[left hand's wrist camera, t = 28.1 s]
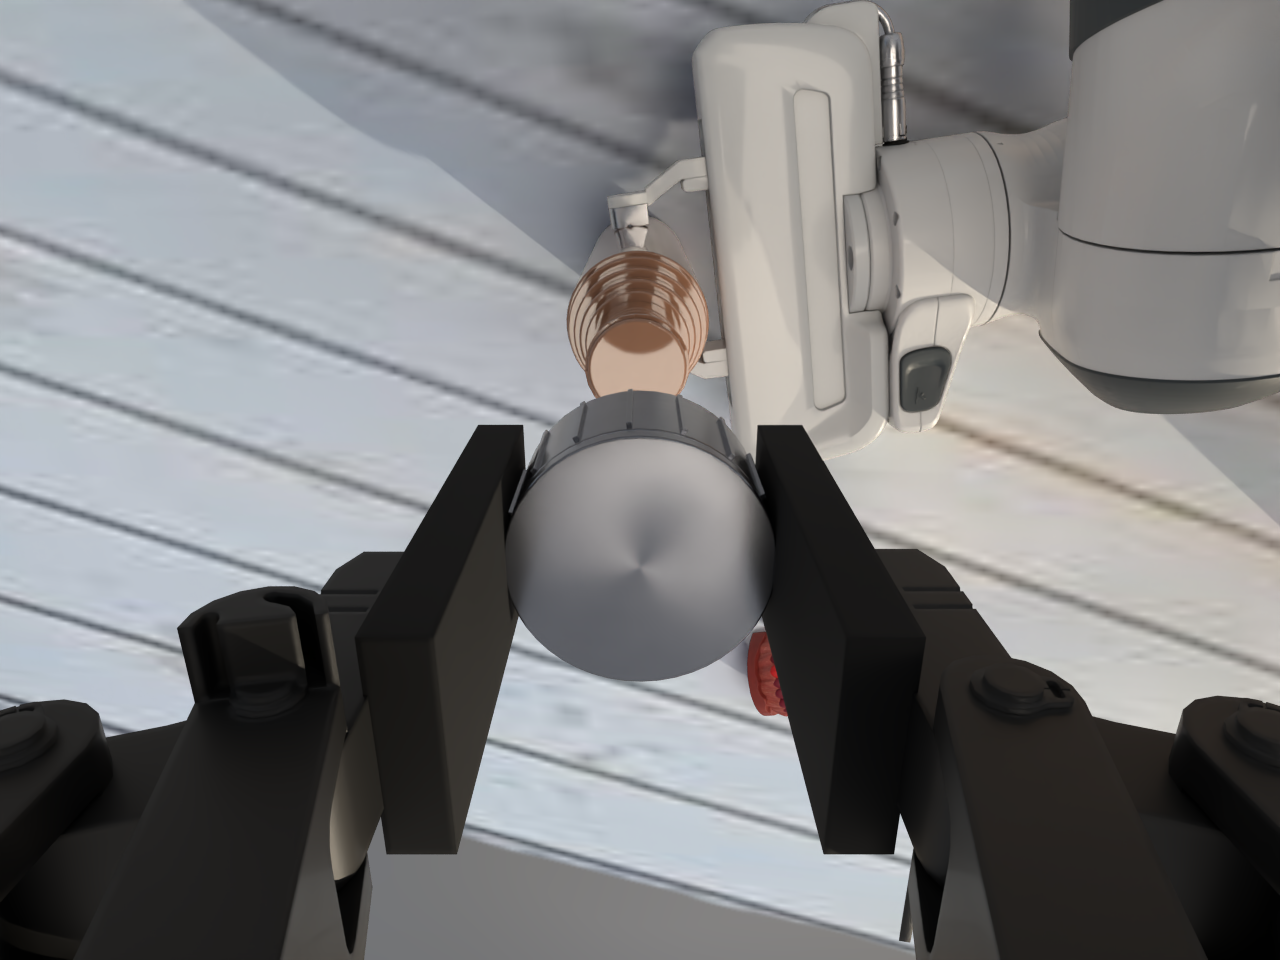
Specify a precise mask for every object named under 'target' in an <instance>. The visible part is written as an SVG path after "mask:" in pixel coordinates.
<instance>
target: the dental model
mask: <svg viewBox="0 0 1280 960" xmlns="http://www.w3.org/2000/svg"><path fill="white" fill-rule="evenodd" d="M747 672H748V682H749V688H750V693H751V697H752V700H753V702H754V705H755V707H756V709H757V710H758V711H759V712H760V714H762V715H764V716H770V715H776V714H780V715H783V716H788V715H787V711H786V707H785V703H784V699H783V695H782V692H781V688H780V684H779V680H778V676H777V672H776V668H775V665H774V661H773V657H772V653H771V649H770V645H769V641H768V638H767V634H766V632H758V633H753V634H752V637H751V640H750V645H749V650H748V660H747Z"/></svg>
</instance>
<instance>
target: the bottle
mask: <svg viewBox="0 0 1280 960" xmlns="http://www.w3.org/2000/svg"><path fill="white" fill-rule="evenodd" d="M648 218H649V225H645V226H633V225H631V224H630V225H629V226H628V227H627V228H623V229H618V230H612V227H611V224H610V225H609V226H608V227H607V228H606V229H605V230H604V231H603V232H602V234H601V235H600V236H599V238H598V240H597V242H596V244H595V246H594V248H593V250H592V253H591V255H590V257H589V259H588V261H587V263H586V265H585V267H584V270H583V272H582V274H581V276H580V278H579V280H578V282H577V285H576V287H575V289H574V291H573V293H572V296H571V299H570V302H569V306H568V310H567V332H568V338H569V341H570V345H571V348H572V351H573V353H574V355H575V358H576V360H577V361H578V363H579V365H580V366H581V367H582V369H583V370H584V371H585V373H586V378H587V382H588V385H589V387H590V389H591V391H592V393H593V395H594V396H595V398H599V397H602V396H605V395H609V394H614V393H619V392H625V391H628V389H633V391H638V390H639V391H656V392H662V393H667V394H672V395H675V396H677V394H680V393H681V391H682V390H683V388H684V386H685V383H686V381H687V378H688V375H689V373H690V372H691V371H692V369H693V368H694V367H695V365H696V364H697V362H698V360H699V359H700V357H701V354H702V352H703V349H704V347H705V343H706V340H707V336H708V330H709V315H708V308H707V304H706V300H705V297H704V295H703V292H702V290H701V288H700V285H699V283H698V281H697V279H696V276H695V274H694V272H693V270H692V267H691V265H690V263H689V261H688V259H687V256H686V254H685V252H684V250H683V247H682V245H681V243H680V241H679V239H678V237H677V236H676V234H675V233H674V231H673V230H672V229H671V228H670V227H669V226H667V225H666V224H665V223H663V222H662V221H660V220H658V219H656V218H654V217H650V216H648Z"/></svg>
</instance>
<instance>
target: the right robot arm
mask: <svg viewBox="0 0 1280 960" xmlns="http://www.w3.org/2000/svg"><path fill="white" fill-rule="evenodd" d="M879 21H880V23H881V24H882V26H883V29H884V32H885V35H881V36H880V37H879ZM1069 57H1070V60H1071V61H1072V73H1071V84H1070V94H1069V105H1068V116H1067V118H1064V119H1061V120H1058V121H1055V122H1053V123H1051V124H1049V125H1047V126H1045V127H1043V128H1040V129H1038V130H1035V131H1031V132H1028V133H1023V134H1000V133H995V132H987V131H976V132H969V133H962V134H956V135H949V136H942V137H936V138H929V139H923V140H916V141H910V142H909V141H907V137H906V134H907V125H906V103H905V97H904V96H905V94H904V91H903V89H904V87H903V84H902V83H903V78H902V76H903V71H902V65H904V59H905V51H904V42H903V37H902V34H901V33H900V32H896V33H895V31H894V27H893V24H892V21H891V19H890V17H889V16H888V14H887V13H886V12H885V11H884V10H883V9H882V8H881V7H880V6H879V5H877V4H876V3H873V2H871V1H867V0H852V1H846V2H840V3H834V4H828V5H825V6H822V7H820V8H818V9H816V10H815V11H813V12H812V13H811V14H809V16H808V17H807V18H806V19H805V20H804V22H803V23H762V24H747V25H737V26H728V27H722V28H717V29H714V30H712V31H710V32H709V33H707V34H706V36H705V37H704V38H703V39H702V40H701V41H700V43H699V44H698V46H697V47H696V49H695V51H694V53H693V56H692V71H693V80H694V89H695V99H696V108H697V117H698V126H699V135H700V145H701V154H702V157H696V158H690V159H684V160H678V161H676V162H675V163H674V164H673V165H671V166H670V167H669V168H668V169H667V170H665V171H664V172H663V173H662V174H660V175H659V176H658V177H657V178H656V179H654V180H653V181H652V182H651V183H650V184H648V185H647V186H646V187H645V190H643V191H637V192H630V193H624V194H617V195H612V196H608V197H607V202H608V208H609V215H610V221H611V227H612V230H618V229H623V228H627V227H628V226H629V225H630V224H631V225H633V226H645V225H649V218H648V210H647V206H649V205H651V204H652V203H653V202H654V201H656V200H657V199H658V198H659V197H661V196H662V195H663V194H664V193H665V192H667V191H668V190H669V189H670V188H672V187H673V186H674V185H675V184H676V183H678V182H679V181H680V180H681V188H682V189H683V190H684V191H685V192H694V191H701V190H705V191H706V200H707V209H708V218H709V227H710V237H711V246H712V255H713V264H714V273H715V283H716V292H717V301H718V310H719V319H720V329H721V338H722V339H720V340H714V341H708V342H706V343H705V347H704V349H703V352H702V354H701V357H700V359H699V360H698V362H697V364H696V365H695V367H694V368H693V369H692V371H691V372H690V373H691V374H694V375H696V376H699V377H701V378H704V379H710V378H717V377H725V376H726V384H727V393H728V402H729V411H730V421H731V430H732V432H733V433H734V434H735V435H736V437H737V438H738V440H739V441H740V443H741V444H742V446H743V447H744V449H745V451H746V453H747V454H748V453H751V455H752V458H753V460H754V463H755V460H756V442H757V425H803V427H804V429H805V431H806V432H807V434H808V436H809V437H810V439H811V441H812V442H813V444H814V446H815V448H816V449H817V451H818V453H819V454H820V456H821V458H822V460H823V461H824V460H828V459H832V458H836V457H839V456H843V455H846V454H850V453H853V452H855V451H858V450H860V449H862V448H864V447H866V446H867V445H869V444H870V443H872V442H873V441H874V440H875V439H876V438H877V437H878V436H879V435H880V434H881V432H882V431H883V429H884V427H885V425H886V422H888V423H889V424H890V425H891V426H893V427H894V428H896V429H897V430H899V431H901V432H904V433H916V432H923V431H927V430H929V429H931V428H932V427H934V426H935V424H936V423H937V421H938V419H939V417H940V415H941V412H942V409H943V406H944V402H945V399H946V396H947V392H948V389H949V386H950V383H951V380H952V377H953V373H954V370H955V367H956V364H957V361H958V359H959V356H960V353H961V350H962V347H963V345H964V342H965V339H966V337H967V334H968V332H969V329H970V327H975V326H981V325H984V324H987V323H990V322H993V321H995V320H998V319H1001V318H1004V317H1007V316H1011V315H1018V314H1023V315H1028V316H1031V317H1033V318H1035V319H1036V321H1037V322H1038V324H1039V326H1040V330H1039V336H1040V338H1041V339H1042V340H1043V342H1044V343H1045V344H1046V345H1047V347H1048V348H1049V349H1050V350H1051V352H1052V353H1053V354H1054V355H1055V356H1056V357H1057V358H1058V359H1059V361H1060V362H1061V363H1062V364H1063V365H1064V366H1065V367H1066V368H1067V369H1068V370H1069V371H1070V372H1071V373H1072V374H1073V375H1074V376H1075V377H1076V378H1077V379H1078V380H1079V381H1080V382H1081V383H1082V384H1083V385H1084V386H1085V387H1086V388H1087V389H1088V390H1089V391H1090V392H1091V393H1093V394H1094V395H1095V396H1096V397H1098V398H1099V399H1101V400H1102V401H1104V402H1106V403H1108V404H1109V405H1111V406H1114V407H1116V408H1119V409H1122V410H1126V411H1131V412H1138V413H1149V414H1186V413H1200V412H1210V411H1217V410H1224V409H1229V408H1234V407H1238V406H1241V405H1244V404H1247V403H1250V402H1253V401H1257V400H1260V399H1262V398H1265V397H1267V396H1270V395H1272V394H1275V393H1278V392H1280V0H1070V35H1069ZM883 142H884V144H883V146H877V147H875V145H876V144H882V143H883Z"/></svg>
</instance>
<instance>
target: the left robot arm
mask: <svg viewBox="0 0 1280 960" xmlns="http://www.w3.org/2000/svg"><path fill="white" fill-rule="evenodd" d="M755 466H756V468H757V471H758V474H759V477H760V479H761V482H762V485H763V488H764V490H765V493H766V496H767V498H765V499H764V501H765V504H766V507H767V510H768V512H769V515H770V518H771V521H772V524H773V527H774V531H775V535H776V552H775V567H774V582H773V592H772V596H771V598H770V600H769V603H768V605H767V607H766V609H765V611H764V613H763V615H762V618H763V622H764V626H765V630H766V634H767V638H768V641H769V645H770V649H771V653H772V657H773V661H774V665H775V668H776V672H777V676H778V680H779V684H780V688H781V692H782V695H783V699H784V703H785V707H786V711H787V715H788V719H789V722H790V726H791V730H792V734H793V738H794V742H795V746H796V749H797V753H798V757H799V761H800V765H801V769H802V773H803V776H804V780H805V784H806V788H807V792H808V796H809V800H810V803H811V807H812V811H813V815H814V819H815V823H816V827H817V830H818V834H819V838H820V842H821V846H822V850H823V854H894V850H895V844H896V837H897V830H898V824H899V817H900V814H901V816H902V819H903V822H904V824H905V827H906V829H907V832H908V834H909V837H910V839H911V842H912V845H913V847H914V849H913V855H912V861H911V867H910V874H909V880H908V886H907V892H906V899H905V905H904V911H903V917H902V924H901V931H900V937H899V941H904V942H910V940H911V935H912V930H913V936H914V944H915V953H916V960H1280V706H1278V705H1275V704H1271V703H1268V702H1266V703H1263V702H1262V701H1260V700H1255V699H1250V698H1237V697H1226V696H1213V697H1208V698H1202V699H1196V700H1194V701H1193V702H1192V703H1191V704H1189V705H1188V706H1187V707H1186V708H1185V709H1183V712H1182V715H1181V719H1180V722H1179V725H1178V729H1177V732H1176V734H1173V733H1168V732H1163V731H1158V730H1152V729H1147V728H1142V727H1137V726H1132V725H1127V724H1122V723H1117V722H1112V721H1109V720H1105V719H1101V718H1097V717H1093V716H1092V715H1091V713H1090V711H1089V709H1088V707H1087V705H1086V703H1085V701H1084V700H1083V699H1082V697H1081V696H1080V695H1079V693H1078V692H1077V691H1076V690H1075V688H1074V687H1073V686H1072V685H1071V684H1069V683H1068V682H1066V681H1065V680H1063V679H1062V678H1060V677H1059V676H1057V675H1056V674H1054V673H1053V672H1051V671H1049V670H1046V669H1044V668H1041V667H1039V666H1036V665H1034V664H1031V663H1029V662H1026V661H1023V660H1018V659H1013V658H1011V657H1010V655H1009V654H1008V653H1007V651H1006V650H1005V649H1004V647H1003V646H1002V644H1001V643H1000V642H999V640H998V639H997V638H996V636H995V635H994V633H993V632H992V631H991V629H990V628H989V627H988V625H987V624H986V622H985V621H984V620H983V618H982V617H981V616H980V614H979V613H978V611H977V610H976V609H973V608H972V603H971V602H970V600H969V599H968V598H967V596H966V595H965V594H964V592H963V591H960V587H959V585H958V584H957V583H956V581H955V580H954V578H953V577H952V576H951V574H950V573H949V572H948V570H947V569H946V567H945V566H943V565H941V564H940V563H938V562H937V561H935V560H934V559H932V558H930V557H929V556H927V555H926V554H924V553H922V552H921V551H919V550H918V549H874V547H873V545H872V543H871V542H870V540H869V538H868V537H867V535H866V533H865V532H864V530H863V528H862V526H861V525H860V523H859V521H858V520H857V518H856V516H855V514H854V513H853V511H852V509H851V508H850V506H849V504H848V502H847V501H846V499H845V497H844V496H843V494H842V492H841V490H840V489H839V487H838V485H837V484H836V482H835V480H834V478H833V477H832V475H831V473H830V472H829V470H828V468H827V466H826V465H825V463H824V461H823V460H822V458H821V456H820V454H819V453H818V451H817V449H816V448H815V446H814V444H813V442H812V441H811V439H810V437H809V436H808V434H807V432H806V431H805V429H804V427H803V425H757V442H756V460H755ZM523 469H525V450H524V432H523V425H478V426H477V428H476V430H475V431H474V433H473V435H472V437H471V438H470V440H469V442H468V443H467V445H466V447H465V449H464V450H463V452H462V454H461V455H460V457H459V459H458V461H457V462H456V464H455V466H454V467H453V469H452V471H451V473H450V474H449V476H448V478H447V479H446V481H445V483H444V485H443V486H442V488H441V490H440V491H439V493H438V495H437V497H436V498H435V500H434V502H433V503H432V505H431V507H430V509H429V510H428V512H427V514H426V515H425V517H424V519H423V521H422V522H421V524H420V526H419V527H418V529H417V531H416V533H415V534H414V536H413V538H412V539H411V541H410V543H409V545H408V546H407V548H406V550H405V551H404V552H363V553H361V554H360V555H358V556H356V557H355V558H353V559H352V560H350V561H349V562H347V563H345V564H344V565H342V566H341V567H339V568H338V569H336V570H335V572H334V573H333V574H332V576H331V577H330V579H329V580H328V581H327V583H326V584H325V586H324V587H323V588H322V590H321V594H318V593H316V592H315V591H312V590H308V589H303V588H299V587H295V586H268V587H263V588H257V589H251V590H246V591H240V592H237V593H234V594H231V595H229V596H226V597H223V598H220V599H217V600H214V601H212V602H210V603H209V604H207V605H205V606H203V607H202V608H200V609H198V610H196V611H195V612H193V613H191V614H190V615H189V616H188V617H187V618H186V619H185V620H184V621H183V622H182V623H181V625H180V626H179V627H178V628H177V630H178V634H179V638H180V642H181V647H182V651H183V655H184V659H185V663H186V667H187V672H188V676H189V680H190V684H191V688H192V692H193V697H194V701H195V704H194V706H193V708H192V710H191V712H190V714H189V717H188V719H187V720H186V721H183V722H179V723H175V724H171V725H167V726H162V727H157V728H152V729H147V730H142V731H137V732H132V733H127V734H122V735H117V736H112V737H105V733H104V730H103V726H102V723H101V720H100V716H99V713H98V712H96V711H95V710H94V709H93V708H91V707H90V706H89V705H88V704H87V703H81V702H76V701H70V700H53V701H42V702H31V703H26V704H21V705H20V706H19V707H16V706H13V707H10V708H7V709H4V710H1V711H0V960H364V955H365V946H366V937H367V929H368V921H369V912H370V903H371V894H372V881H371V874H370V867H369V861H368V855H367V850H368V848H369V845H370V843H371V840H372V837H373V835H374V832H375V830H376V827H377V825H378V822H379V820H380V817H381V820H382V826H383V833H384V840H385V847H386V853H387V854H457V852H458V848H459V844H460V840H461V836H462V833H463V829H464V825H465V821H466V817H467V813H468V809H469V806H470V802H471V798H472V794H473V790H474V786H475V782H476V779H477V775H478V771H479V767H480V763H481V759H482V755H483V752H484V748H485V744H486V740H487V736H488V732H489V728H490V724H491V721H492V717H493V713H494V709H495V705H496V701H497V697H498V694H499V690H500V686H501V682H502V678H503V674H504V670H505V667H506V663H507V659H508V655H509V651H510V647H511V643H512V640H513V636H514V632H515V628H516V624H517V620H518V616H519V615H518V614H517V612H516V610H515V608H514V606H513V603H512V601H511V599H510V596H509V593H508V588H507V574H506V559H505V534H506V530H507V527H508V523H509V520H510V517H508V510H509V508H510V505H511V502H512V499H513V497H514V494H515V491H516V488H517V486H518V483H519V480H520V477H521V475H522V472H523ZM525 470H526V469H525Z"/></svg>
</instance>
